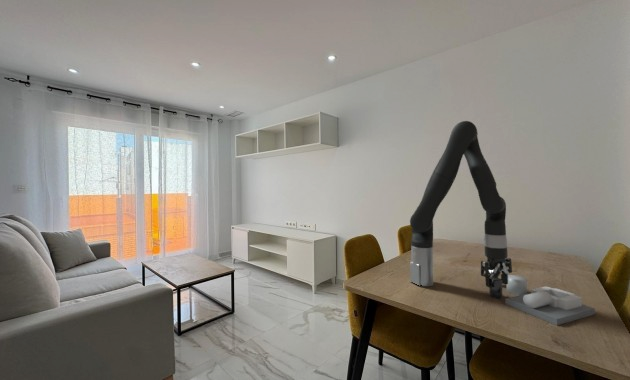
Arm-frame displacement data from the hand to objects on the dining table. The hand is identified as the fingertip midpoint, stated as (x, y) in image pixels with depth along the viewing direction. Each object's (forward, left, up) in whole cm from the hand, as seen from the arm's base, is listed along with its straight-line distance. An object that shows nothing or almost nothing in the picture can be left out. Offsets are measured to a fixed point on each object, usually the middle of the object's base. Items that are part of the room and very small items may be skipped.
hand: (497, 285), depth 103 cm
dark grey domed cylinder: (-1, 0, -4) cm, 4 cm away
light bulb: (+10, +9, -5) cm, 15 cm away
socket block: (+6, -14, -4) cm, 16 cm away
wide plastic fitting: (+11, 0, -5) cm, 12 cm away
